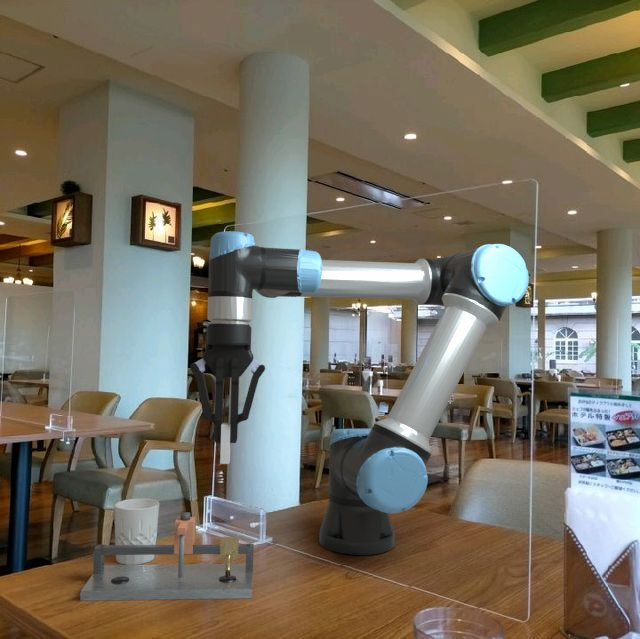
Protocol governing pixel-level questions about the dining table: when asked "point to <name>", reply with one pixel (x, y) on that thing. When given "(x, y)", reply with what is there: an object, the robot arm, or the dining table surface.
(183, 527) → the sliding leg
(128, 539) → the white cup
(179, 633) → the dining table surface
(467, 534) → the dining table surface
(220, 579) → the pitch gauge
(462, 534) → the dining table surface
